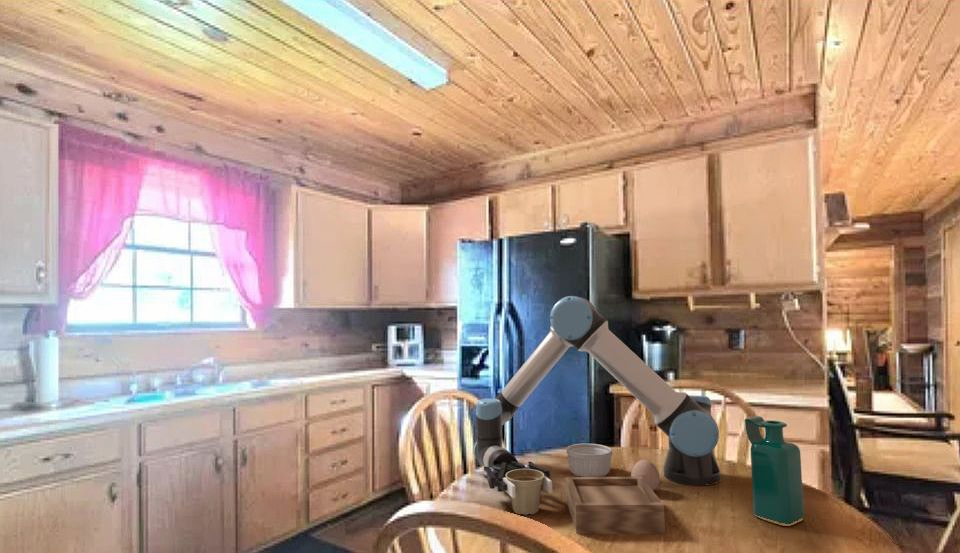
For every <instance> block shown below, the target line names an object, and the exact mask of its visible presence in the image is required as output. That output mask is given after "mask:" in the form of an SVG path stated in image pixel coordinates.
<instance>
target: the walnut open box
mask: <svg viewBox="0 0 960 553" xmlns="http://www.w3.org/2000/svg"><path fill="white" fill-rule="evenodd" d="M565 495H566V498H565V499H566V505H567V508H568V511H569V513H570V514H569V515H570V517H571V521H572V525H573V528H574V531H575V534H576V535H601V534H602V535H619V534H620V535H629V534H630V535H647V534H648V535H656V534H657V535H660V534H661V535H662V534H663V535H664V534H666V525H665V524H666V522H665V521H666V520H665V505H664V503H663V502H662V501H661V499H660V498H659V497H658V495H657V494H656V493H655V492H654V491H652V489H651V488H650V487H649V486H648V484H647V483H646V482H645V481H644V479H643V478H642V477H631V476H604V477H580V476H570V477H569V476H566V477H565Z"/></svg>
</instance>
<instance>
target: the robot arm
mask: <svg viewBox="0 0 960 553" xmlns="http://www.w3.org/2000/svg"><path fill="white" fill-rule="evenodd" d="M549 316H550V317H549V320H550V327H549V328H550V330H549V332H548V333H547V335H546V336H545V338H544V339H543V340H542V341H541V342H540V343H539V344H538V346H537V347H536V349H535V350H534V351H533V352H532V353H531V354H530V356H529V357H528V358H527V360H526V361H525V362H524V363H523V364H522V366H521V367H520V368H519V369H518V371H517V372H516V373H515V374H514V375H513V376H512V378H511V379H510V380H509V381H508V383H507V384H506V385H505V387H504V388H503V389H502V390H501V391H500V392H499V394H497V396H496V397H495V398H489V397H488V398H482V399H479V400H478V401H477V402H476V403H475V405H476V408H475V420H476V422H475V423H476V442H475V443H474V445H473V456H474V457H475V459H476V460H477V462H478V463H479V464H480V465H481V466H483V478H485V480H487V483H488V486H489V489H490V490H491V489H492V490H493V489H495V488H496V487H497V492H500V493H501V492H505V493H506V494H508V495H509V497H510V498H511V497H512V498H515V485H514V484H513V483H511V482H510V481H509V480H508V479H507V478H506V473H507V472H509V471H511V470H516V469H533V470H538V471H541V472H542V473H544V478H543V480H542V484H541V489H543V490H545V491H546V492H547V493H549V494H551V493H552V494H553V481H552V480H551V473H550V470H548V469H546V468H544V467H541V466H539V465H536V464H535V463H533V462H532V461H528V462H527V464H523V463H522V462H518V459H517V457H516V456H515V455H514V454H513V453H511V452H510V451H509V450H508V449H506V448H505V447H503V425H505V424H506V423H508V422H509V421H510V420H512V418H513V417H514V416H515V414H516V412H517V411H518V410H519V408H520V407H521V406H523V404H524V403H525V401H526V400H527V399H528V397H529V396H530V395H531V394H532V393H533V391H535V389H536V388H537V387H538V385H539V384H540V383H542V380H543V379H544V378H545V377H546V376H547V375H548V374H549V372H550V371H551V370H552V368H554V366H555V365H556V364H557V363H558V362H559V360H560V359H561V358H562V357H563V356H564V354H565V353H566V352H567V351H568V350H569V349H570V348H571V347H574V348H575V350H577V351H578V352H587V353H588V355H590V356H591V357H593V359H594V360H595V361H597V362H598V363H599V364H600V365H601V366H602V367H603V368H604V369H605V370H606V371H607V372H608V373H609V374H610V375H611V376H612V377H613V378H614V379H615V380H617V381H618V383H620V385H622V386H623V387H624V388H625V390H627V391H628V392H629V393H630V394H631V395H632V396H633V397H634V398H635V399H636V400H637V401H638V402H639V403H641V404H642V405H643V406H644V408H646V409H647V410H648V411H649V412H650V413H651V414H652V415H653V417H654V418H653V419H654V425H655V426H657V427H658V429H660V430H661V432H663V433H664V434H665V435H666V436H667V437H668V451H667V454H666V458H665V460H664V461H665V462H664V464H663V476H664V478H666V479H667V480H668V481H671V482H674V483H677V484H684V485H688V484H689V486H707V485H706V484H712V485H714V484H713V483H716V482H718V483H720V482H721V481H722V476H721V475H722V474H721V470H720V467H719V464H718V462H717V458H716V457H715V454H714V451H713V450H714V449H715V448H716V446H717V445H718V442H719V438H720V434H719V433H720V429H719V427H718V424H717V422H716V419H714V417H713V416H712V404H711V399H710V397H708V396H706V395H689V394H688V393H686V392H681V391H676V390H675V389H674V388H673V387H672V386H671V385H670V384H668V383H667V381H665V380H664V379H663V378H662V377H661V376H660V375H658V373H657V372H656V371H655V370H653V369H652V368H651V367H650V366H649V365H648V364H647V363H645V362H644V360H642V359H641V357H639V356H638V355H637V354H636V353H635V352H634V351H632V349H630V348H629V347H628V345H626V344H625V343H624V342H623V341H622V340H621V339H620V338H619V337H617V335H615V334H614V333H613V332H612V331H611V330H610V329H609V321H608V320H607V319H606V318H605V317H604V316H603V315H602V314H600V313H599V312H598V310H596V307H595V306H594V304H593V303H592V302H591V301H590V300H588V299H587V298H585V297H582V296H576V295H569V296H568V295H567V296H565V297H562V298H560V299H559V300H558V301H557V302H556V303H555V304H554V305H553V307H552V309H551V310H550V315H549ZM720 480H721V481H720ZM719 481H720V482H719ZM716 484H717V483H716Z"/></svg>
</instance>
